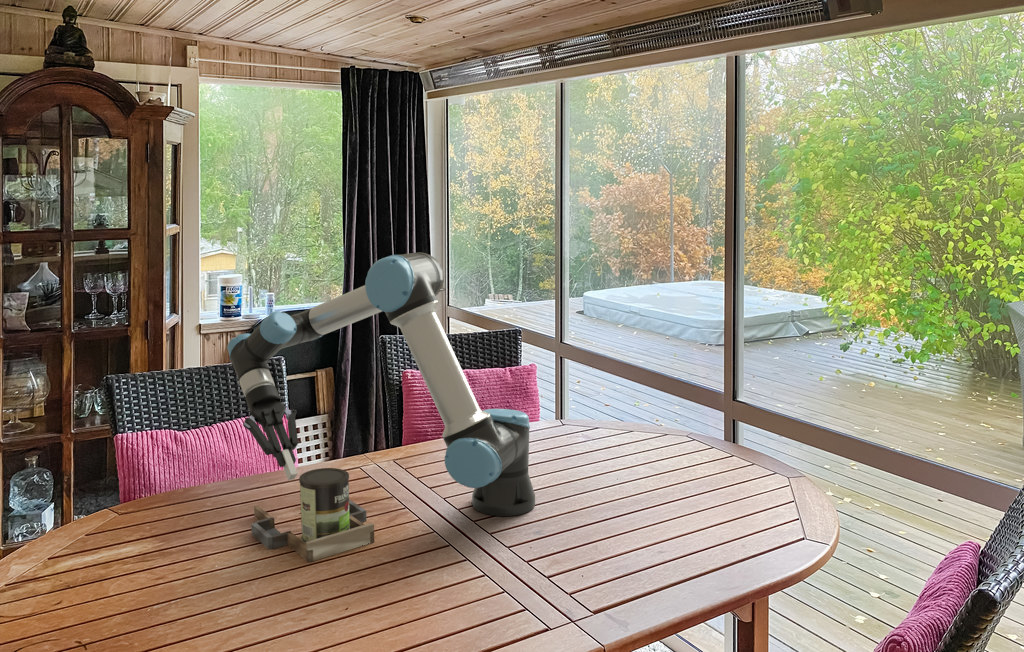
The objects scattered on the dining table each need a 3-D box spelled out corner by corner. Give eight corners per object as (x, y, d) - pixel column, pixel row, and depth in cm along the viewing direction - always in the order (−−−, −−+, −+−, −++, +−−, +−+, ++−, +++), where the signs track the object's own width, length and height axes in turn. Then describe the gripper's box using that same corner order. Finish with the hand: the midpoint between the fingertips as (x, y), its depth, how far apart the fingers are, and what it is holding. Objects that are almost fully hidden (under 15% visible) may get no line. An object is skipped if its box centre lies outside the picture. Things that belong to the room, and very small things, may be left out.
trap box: (237, 521, 175) (236, 504, 174) (330, 497, 189) (330, 481, 189) (289, 568, 154) (289, 549, 153) (390, 536, 168) (390, 519, 168)
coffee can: (358, 530, 171) (356, 469, 169) (337, 551, 161) (336, 487, 159) (314, 525, 173) (313, 465, 171) (292, 546, 163) (290, 482, 161)
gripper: (281, 395, 195) (314, 478, 185) (230, 404, 187) (261, 491, 177) (290, 379, 190) (323, 462, 180) (237, 387, 182) (269, 475, 172)
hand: (292, 476), depth 179 cm, fingers closed
